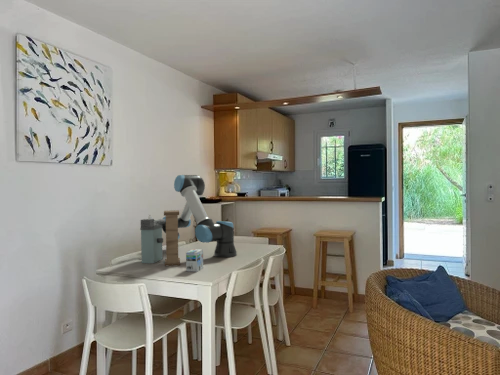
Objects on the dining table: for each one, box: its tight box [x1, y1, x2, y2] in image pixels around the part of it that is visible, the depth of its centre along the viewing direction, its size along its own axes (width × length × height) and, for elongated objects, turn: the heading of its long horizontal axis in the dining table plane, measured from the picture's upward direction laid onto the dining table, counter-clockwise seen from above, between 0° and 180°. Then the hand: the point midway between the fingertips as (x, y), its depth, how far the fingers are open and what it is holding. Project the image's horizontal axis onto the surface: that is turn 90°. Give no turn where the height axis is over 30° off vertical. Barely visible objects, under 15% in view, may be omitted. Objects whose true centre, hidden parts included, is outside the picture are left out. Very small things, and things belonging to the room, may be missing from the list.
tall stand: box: [163, 209, 181, 267], centre depth 230 cm, size 15×9×32 cm, turn 11°
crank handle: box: [140, 218, 165, 228], centre depth 242 cm, size 28×6×5 cm, turn 171°
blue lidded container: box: [139, 225, 164, 264], centre depth 238 cm, size 11×15×22 cm
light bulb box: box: [185, 248, 204, 273], centre depth 210 cm, size 11×7×11 cm, turn 169°
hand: (158, 216), depth 250 cm, fingers open, 13 cm apart
